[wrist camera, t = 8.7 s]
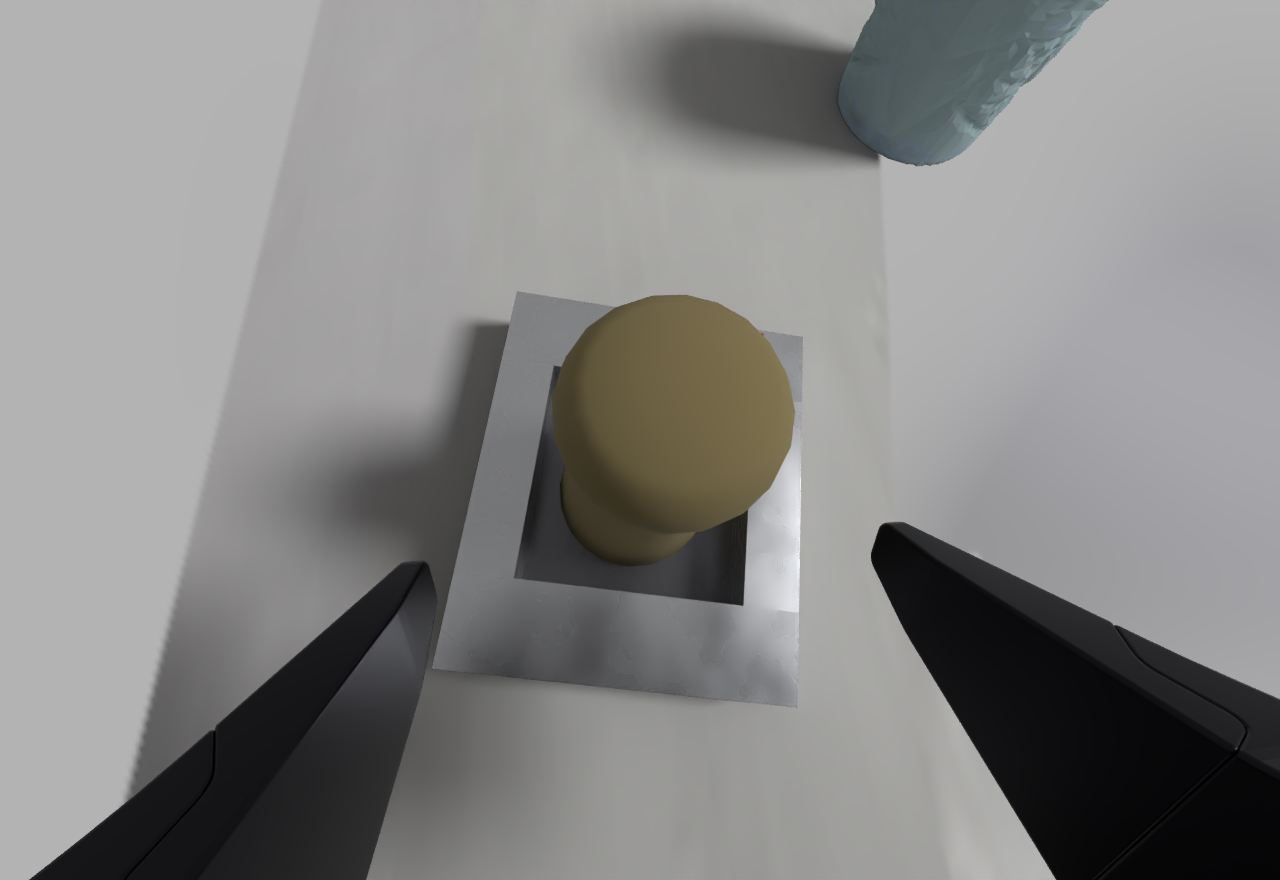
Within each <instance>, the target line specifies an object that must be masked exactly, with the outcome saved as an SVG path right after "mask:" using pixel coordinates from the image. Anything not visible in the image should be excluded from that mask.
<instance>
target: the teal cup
mask: <svg viewBox="0 0 1280 880" xmlns="http://www.w3.org/2000/svg"><path fill="white" fill-rule="evenodd" d="M1107 1H1108V0H875V9H874V11H873V13H872V14H871V16H870V18H869V20H868V21H867V22H866V24H865V25H864V27H863V29H862V32H861V34H860V36H859V39H858V41H857V42H856V45H855V48H854V50H853V52H852V55H851V57H850V59H849V62H848V64H847V67H846V69H845V72H844V74H843V77H842V79H841V82H840V86H839V93H838V103H839V108H840V111H841V114H842V116H843V118H844V120H845V122H846V124H847V125H848V127H849V128H850V130H851V131H852V132H853V133H854V134H855V135H856V136H857V137H858V138H859V139H860V140H861V141H862V142H863V143H864V144H865V145H867V146H868V147H870V148H871V149H873V150H874V151H876V152H878V153H879V154H881V155H883V156H885V157H887V158H888V159H891V160H895V161H899V162H902V163H905V164H913V165H915V166H923V165H925V164H926V165H929V166H931V165H933V164H940V163H943V162H945V161H947V160H950V159H952V158H954V157H955V156H957V155H959V154H960V153H962V152H963V151H964V150H965V149H967V148H968V147H969V146H970V145H971V144H972V143H973V142H974V141H975V139H977V137H978V136H979V135H980V134H981V133H982V132H983V131H984V130H985V128H987V127H988V126H989V125H990V124H991V123H992V121H993V120H994V118H995V117H996V116H997V115H998V114H999V113H1000V112H1001V111H1002V110H1003V109H1004V108H1005V107H1006V106H1007V105H1008V104H1009V103H1010V101H1011V100H1012V98H1013V96H1014V94H1016V93H1017V91H1018V89H1019V88H1020V87H1021V86H1023V85H1024V84H1026V83H1027V82H1029V81H1031V80H1032V79H1033V78H1034V77H1036V76H1037V75H1038V74H1039V72H1041V71H1042V69H1043V68H1044V67H1045V66H1046V65H1047V63H1048V62H1049V61H1050V60H1051V59H1052V58H1054V57H1055V56H1056V55H1057V54H1058V52H1059V51H1060V50H1061V49H1062V48H1063V47H1064V46H1065V45H1066V43H1067V42H1068V41H1069V40H1070V39H1072V38H1073V37H1074V36H1075V35H1076V34H1077V32H1078V31H1079V29H1080V28H1081V26H1082V23H1083V21H1085V20H1086V19H1087V18H1088V17H1089V16H1090V14H1092V13H1093V12H1094V11H1095V10H1096V9H1098V8H1100V7H1102V6H1103V5H1104V4H1105V3H1106V2H1107Z"/></svg>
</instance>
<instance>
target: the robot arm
mask: <svg viewBox="0 0 1280 880" xmlns="http://www.w3.org/2000/svg"><path fill="white" fill-rule="evenodd" d="M871 561H872V564H873V567H874V569H875V571H876V573H877V575H878V577H879V579H880V581H881V583H882V585H883V587H884V590H885V592H886V594H887V596H888V598H889V600H890V602H891V604H892V606H893V608H894V610H895V612H896V614H897V616H898V618H899V621H900V622H901V624H902V626H903V628H904V630H905V632H906V634H907V635H908V637H909V639H910V641H911V642H912V644H913V646H914V647H915V649H916V651H917V652H918V654H919V656H920V657H921V659H922V660H923V662H924V664H925V665H926V667H927V669H928V670H929V672H930V674H931V675H932V677H933V679H934V680H935V682H936V683H937V685H938V687H939V688H940V690H941V692H942V693H943V695H944V697H945V698H946V700H947V702H948V703H949V705H950V706H951V708H952V710H953V711H954V713H955V715H956V716H957V718H958V720H959V721H960V723H961V724H962V726H963V728H964V729H965V731H966V733H967V734H968V736H969V738H970V739H971V741H972V743H973V744H974V746H975V747H976V749H977V751H978V752H979V754H980V756H981V757H982V759H983V761H984V762H985V764H986V766H987V767H988V769H989V770H990V772H991V774H992V775H993V777H994V779H995V780H996V782H997V784H998V785H999V787H1000V788H1001V790H1002V792H1003V793H1004V795H1005V797H1006V798H1007V800H1008V802H1009V803H1010V805H1011V807H1012V808H1013V810H1014V811H1015V813H1016V815H1017V816H1018V818H1019V820H1020V821H1021V823H1022V825H1023V826H1024V828H1025V830H1026V831H1027V833H1028V834H1029V836H1030V838H1031V839H1032V841H1033V843H1034V844H1035V846H1036V848H1037V849H1038V851H1039V852H1040V854H1041V856H1042V857H1043V859H1044V861H1045V862H1046V864H1047V866H1048V867H1049V869H1050V871H1051V872H1052V874H1053V875H1054V877H1055V879H1056V880H1280V699H1278V698H1276V697H1274V696H1271V695H1269V694H1267V693H1264V692H1262V691H1260V690H1257V689H1255V688H1253V687H1251V686H1248V685H1246V684H1244V683H1241V682H1239V681H1237V680H1235V679H1232V678H1230V677H1228V676H1226V675H1223V674H1221V673H1219V672H1217V671H1214V670H1212V669H1210V668H1208V667H1205V666H1203V665H1201V664H1198V663H1196V662H1194V661H1192V660H1190V659H1187V658H1185V657H1183V656H1181V655H1179V654H1177V653H1174V652H1172V651H1170V650H1168V649H1166V648H1164V647H1162V646H1160V645H1158V644H1155V643H1153V642H1151V641H1149V640H1147V639H1145V638H1143V637H1141V636H1139V635H1137V634H1134V633H1132V632H1130V631H1128V630H1126V629H1124V628H1122V627H1120V626H1117V625H1113V624H1112V623H1111V622H1109V621H1107V620H1105V619H1103V618H1101V617H1099V616H1097V615H1095V614H1093V613H1091V612H1089V611H1087V610H1085V609H1082V608H1080V607H1078V606H1076V605H1074V604H1072V603H1070V602H1068V601H1066V600H1064V599H1062V598H1060V597H1058V596H1056V595H1054V594H1051V593H1049V592H1047V591H1045V590H1043V589H1041V588H1039V587H1037V586H1035V585H1033V584H1031V583H1029V582H1027V581H1025V580H1022V579H1020V578H1018V577H1016V576H1014V575H1012V574H1010V573H1008V572H1006V571H1004V570H1002V569H1000V568H998V567H995V566H993V565H991V564H989V563H987V562H985V561H983V560H981V559H979V558H977V557H975V556H973V555H971V554H969V553H967V552H964V551H962V550H960V549H958V548H956V547H954V546H952V545H950V544H948V543H946V542H944V541H942V540H940V539H938V538H935V537H933V536H931V535H929V534H927V533H925V532H923V531H921V530H919V529H917V528H915V527H913V526H910V525H909V524H906V523H904V522H889V523H884V524H882V525H881V526H880V527H879V530H878V533H877V536H876V539H875V542H874V545H873V548H872V552H871ZM436 603H437V596H436V590H435V587H434V583H433V579H432V576H431V572H430V569H429V566H428V564H427V562H425V561H412V562H404V563H401V564H400V565H399V566H397V567H396V568H395V569H394V570H393V571H392V572H391V573H389V574H388V575H387V576H386V577H385V578H384V579H383V580H381V581H380V582H379V583H378V584H377V585H376V586H375V587H373V588H372V589H371V590H370V591H369V592H368V593H367V594H365V595H364V596H363V597H362V598H361V599H360V600H359V601H358V602H356V603H355V604H354V605H353V606H352V607H351V608H350V609H348V610H347V611H346V612H345V613H344V614H343V615H342V616H340V617H339V618H338V619H337V620H336V621H335V622H334V623H332V624H331V625H330V626H329V627H328V628H327V629H326V630H324V631H323V632H322V633H321V634H320V635H319V636H318V637H317V638H315V639H314V640H313V641H312V642H311V643H310V644H309V645H307V646H306V647H305V648H304V649H303V650H302V651H301V652H299V653H298V654H297V655H296V656H295V657H294V658H293V659H291V660H290V661H289V662H288V663H287V664H286V665H285V666H283V667H282V668H281V669H280V670H279V671H278V672H277V673H276V674H274V675H273V676H272V677H271V678H270V679H269V680H268V681H266V682H265V683H264V684H263V685H262V686H261V687H260V688H258V689H257V690H256V691H255V692H254V693H253V694H252V695H250V696H249V697H248V698H247V699H246V700H245V701H244V702H243V703H241V704H240V705H239V706H238V707H237V708H236V709H235V710H233V711H232V712H231V713H230V714H229V715H228V716H227V717H225V718H224V719H223V720H222V721H221V722H220V723H219V724H217V726H216V728H215V731H214V730H212V731H209V732H208V733H207V734H206V735H205V736H204V737H202V738H201V739H200V740H199V741H198V742H197V743H196V744H194V745H193V746H192V747H191V748H190V749H189V750H188V751H186V752H185V753H184V754H183V755H182V756H181V757H180V758H178V759H177V760H176V761H175V762H174V763H172V764H171V765H170V766H169V767H168V768H167V769H165V770H164V771H163V772H162V773H161V774H160V775H158V776H157V777H156V778H155V779H154V780H153V781H151V782H150V783H149V784H148V785H147V786H145V787H144V788H143V789H142V790H141V791H140V792H138V793H137V794H136V795H135V796H134V797H132V798H131V799H130V800H129V801H127V802H126V803H125V804H124V805H122V806H121V807H120V808H119V809H118V810H116V811H115V812H114V813H113V814H111V815H110V816H109V817H108V818H106V819H105V820H104V821H103V822H101V823H100V824H99V825H98V826H97V827H95V828H94V829H93V830H92V831H90V832H89V833H88V834H87V835H85V836H84V837H83V838H82V839H80V840H79V841H78V842H77V843H75V844H74V845H73V846H71V847H70V848H69V849H68V850H67V851H65V852H64V853H63V854H61V855H60V856H59V857H57V858H56V859H55V860H54V861H52V862H51V863H50V864H49V865H47V866H46V867H45V868H44V869H43V870H41V871H40V872H38V873H37V874H36V875H35V876H34V877H32V878H31V879H30V880H366V878H367V875H368V872H369V868H370V865H371V861H372V858H373V854H374V851H375V848H376V844H377V841H378V837H379V834H380V830H381V827H382V823H383V820H384V817H385V813H386V810H387V806H388V803H389V799H390V796H391V792H392V789H393V786H394V782H395V779H396V775H397V772H398V768H399V765H400V761H401V758H402V755H403V751H404V748H405V744H406V741H407V737H408V734H409V731H410V727H411V724H412V720H413V717H414V713H415V710H416V706H417V703H418V700H419V696H420V692H421V688H422V684H423V679H424V674H425V668H426V662H427V656H428V651H429V645H430V639H431V633H432V627H433V622H434V616H435V610H436Z"/></svg>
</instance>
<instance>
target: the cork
mask: <svg viewBox="0 0 1280 880" xmlns="http://www.w3.org/2000/svg"><path fill="white" fill-rule="evenodd" d="M552 411H553V432H554V439H555V442H556V445H557V447H558V450H559V452H560V455H561V457H562V460H563V462H564V465H565V467H564V471H563V474H562V478H561V482H560V501H561V510H562V512H563V515H564V517H565V520H566V523H567V525H568V528H569V530H570V531H571V533H572V534H573V535H574V536H575V537H576V539H577V540H578V541H579V542H580V543H581V545H582V546H583V547H584V548H585V549H586V550H588V551H589V552H591V553H593V554H594V555H596V556H598V557H599V558H601V559H602V560H604V561H606V562H610V563H615V564H619V565H623V566H628V567H633V566H643V565H653V564H655V563H657V562H660V561H662V560H664V559H666V558H668V557H671V556H673V555H675V554H676V553H677V552H678V551H679V550H680V549H681V548H682V547H683V546H684V545H685V544H687V543H688V542H689V541H690V540H691V539H692V537H693V536H694V534H695V533H696V532H702V531H705V530H707V529H710V528H712V527H714V526H717V525H719V524H721V523H723V522H725V521H728V520H730V519H732V518H734V517H737V516H739V515H741V514H743V513H745V512H746V511H747V510H748V509H749V508H750V507H751V506H752V505H753V504H754V503H755V502H756V501H757V500H758V499H759V498H760V497H761V496H762V495H763V494H764V493H765V492H766V491H767V490H769V489H770V487H771V485H772V484H773V482H774V480H775V478H776V476H777V474H778V472H779V470H780V468H781V466H782V464H783V462H784V460H785V458H786V456H787V454H788V452H789V450H790V448H791V442H792V434H793V426H794V418H795V408H794V403H793V398H792V393H791V388H790V383H789V378H788V376H787V374H786V371H785V369H784V368H783V366H782V364H781V362H780V360H779V359H778V357H777V355H776V353H775V351H774V349H773V348H772V346H771V344H770V342H769V341H768V340H767V339H766V338H765V337H764V336H763V335H762V334H761V333H760V332H759V331H758V330H757V329H756V328H755V327H754V326H753V325H752V324H751V323H750V322H749V321H748V320H747V319H745V318H744V317H742V316H740V315H738V314H737V313H735V312H733V311H731V310H729V309H728V308H726V307H724V306H722V305H721V304H719V303H716V302H712V301H708V300H704V299H700V298H696V297H692V296H688V295H664V296H651V297H647V298H644V299H641V300H638V301H635V302H631V303H628V304H625V305H622V306H619V307H616V308H614V309H612V310H611V311H610V312H608V313H607V314H605V315H604V316H603V317H601V318H600V319H598V320H597V321H596V322H594V323H593V324H591V325H590V326H589V327H587V328H586V330H585V331H584V332H583V334H582V335H581V336H580V338H579V339H578V341H577V342H576V343H575V345H574V346H573V348H572V349H571V350H570V352H569V353H568V354H567V356H566V358H565V360H564V362H563V364H562V367H561V370H560V374H559V377H558V380H557V384H556V387H555V390H554V394H553V397H552Z"/></svg>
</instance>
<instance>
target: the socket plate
mask: <svg viewBox="0 0 1280 880" xmlns="http://www.w3.org/2000/svg"><path fill="white" fill-rule="evenodd" d="M614 308H616V307H611V306H605V305H599V304H593V303H586V302H580V301H574V300H568V299H561V298H555V297H549V296H542V295H536V294H530V293H524V292H517V294H516V298H515V303H514V307H513V312H512V316H511V321H510V325H509V329H508V334H507V338H506V343H505V347H504V351H503V356H502V360H501V365H500V369H499V374H498V378H497V382H496V387H495V391H494V396H493V400H492V405H491V409H490V413H489V418H488V422H487V427H486V431H485V435H484V440H483V444H482V449H481V453H480V458H479V462H478V466H477V471H476V475H475V480H474V484H473V489H472V493H471V497H470V502H469V506H468V511H467V515H466V519H465V524H464V528H463V533H462V537H461V542H460V546H459V550H458V555H457V559H456V564H455V568H454V573H453V577H452V581H451V586H450V590H449V595H448V599H447V604H446V608H445V612H444V617H443V621H442V626H441V630H440V634H439V639H438V643H437V648H436V652H435V657H434V661H433V665H432V669H440V670H449V671H459V672H468V673H477V674H487V675H496V676H505V677H515V678H524V679H533V680H543V681H552V682H561V683H571V684H580V685H589V686H599V687H608V688H617V689H627V690H636V691H645V692H655V693H664V694H674V695H683V696H692V697H702V698H711V699H720V700H730V701H739V702H748V703H758V704H767V705H776V706H786V707H795V708H798V637H799V566H800V495H801V423H802V352H803V337H799V336H793V335H786V334H780V333H774V332H768V331H761V330H758V331H759V332H760V333H761V334H762V335H763V336H764V337H765V338H766V339H767V340H768V341H769V342H770V344H771V346H772V348H773V349H774V351H775V353H776V355H777V357H778V359H779V360H780V362H781V364H782V366H783V368H784V369H785V371H786V374H787V376H788V378H789V383H790V388H791V393H792V398H793V403H794V408H795V418H794V426H793V434H792V442H791V448H790V450H789V452H788V454H787V456H786V458H785V460H784V462H783V464H782V466H781V468H780V470H779V472H778V474H777V476H776V478H775V480H774V482H773V484H772V485H771V487H770V489H769V490H767V491H766V492H765V493H764V494H763V495H762V496H761V497H760V498H759V499H758V500H757V501H756V502H755V503H754V504H753V505H752V506H751V507H750V508H749V509H748V510H747V511H746V512H745V513H743V514H741V515H739V516H737V517H734V518H732V519H730V520H728V521H725V522H723V523H721V524H719V525H717V526H714V527H712V528H710V529H707V530H705V531H702V532H696V533H695V534H694V536H693V537H692V539H691V540H690V541H689V542H688V543H687V544H685V545H684V546H683V547H682V548H681V549H680V550H679V551H678V552H677V553H676V554H675V555H673V556H671V557H668V558H666V559H664V560H662V561H660V562H657V563H655V564H653V565H643V566H633V567H628V566H623V565H619V564H615V563H610V562H606V561H604V560H602V559H601V558H599V557H598V556H596V555H594V554H593V553H591V552H589V551H588V550H586V549H585V548H584V547H583V546H582V545H581V543H580V542H579V541H578V540H577V539H576V537H575V536H574V535H573V534H572V533H571V531H570V530H569V528H568V525H567V523H566V520H565V517H564V515H563V512H562V510H561V501H560V482H561V478H562V474H563V471H564V467H565V465H564V462H563V460H562V457H561V455H560V452H559V450H558V447H557V445H556V442H555V439H554V432H553V411H552V397H553V394H554V390H555V387H556V384H557V380H558V377H559V374H560V370H561V367H562V364H563V362H564V360H565V358H566V356H567V354H568V353H569V352H570V350H571V349H572V348H573V346H574V345H575V343H576V342H577V341H578V339H579V338H580V336H581V335H582V334H583V332H584V331H585V330H586V328H587V327H589V326H590V325H591V324H593V323H594V322H596V321H597V320H598V319H600V318H601V317H603V316H604V315H605V314H607V313H608V312H610V311H611V310H612V309H614Z"/></svg>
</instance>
